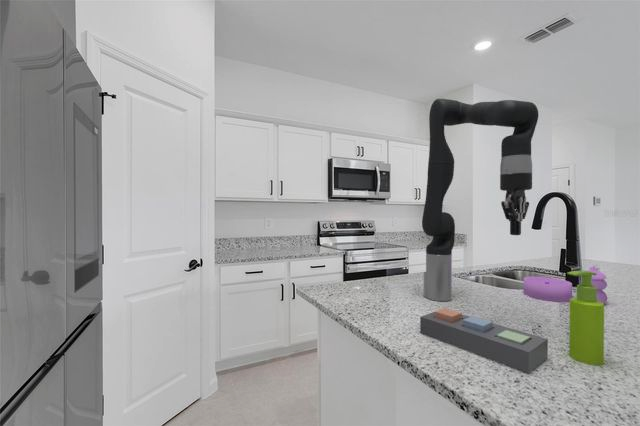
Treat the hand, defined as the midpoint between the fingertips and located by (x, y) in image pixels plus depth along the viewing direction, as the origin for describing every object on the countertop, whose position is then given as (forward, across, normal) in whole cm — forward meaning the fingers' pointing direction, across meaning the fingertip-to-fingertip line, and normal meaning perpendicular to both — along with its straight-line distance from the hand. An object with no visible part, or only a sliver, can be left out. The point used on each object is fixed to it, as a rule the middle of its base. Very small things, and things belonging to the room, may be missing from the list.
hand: (515, 234), depth 84 cm
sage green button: (+25, +17, +6) cm, 31 cm away
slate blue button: (+24, +17, -2) cm, 29 cm away
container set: (+27, -50, -2) cm, 57 cm away
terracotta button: (+24, +17, -10) cm, 31 cm away
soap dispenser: (+27, +5, +16) cm, 32 cm away
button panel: (+27, +17, -2) cm, 32 cm away
